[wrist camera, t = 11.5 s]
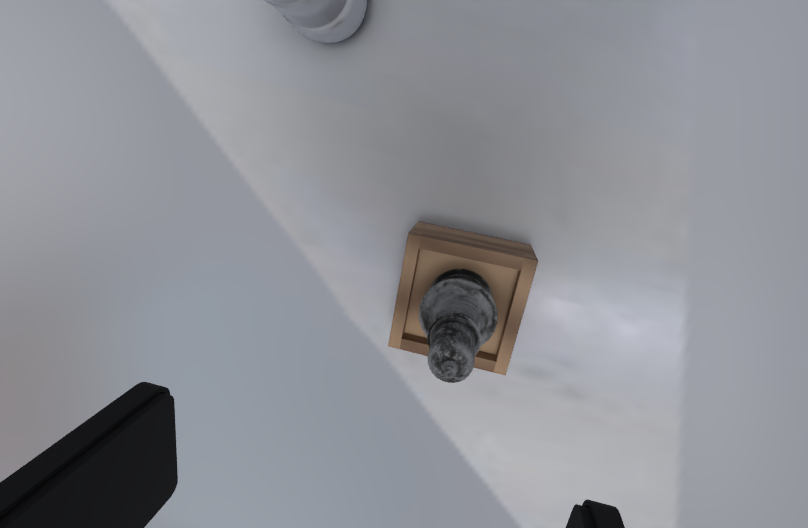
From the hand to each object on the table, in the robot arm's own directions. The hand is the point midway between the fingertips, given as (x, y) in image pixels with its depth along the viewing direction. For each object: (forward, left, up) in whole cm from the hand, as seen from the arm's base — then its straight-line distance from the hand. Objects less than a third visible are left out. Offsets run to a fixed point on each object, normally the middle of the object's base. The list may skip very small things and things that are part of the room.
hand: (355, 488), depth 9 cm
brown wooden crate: (+5, +2, -29) cm, 30 cm away
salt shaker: (+5, +2, -25) cm, 26 cm away
